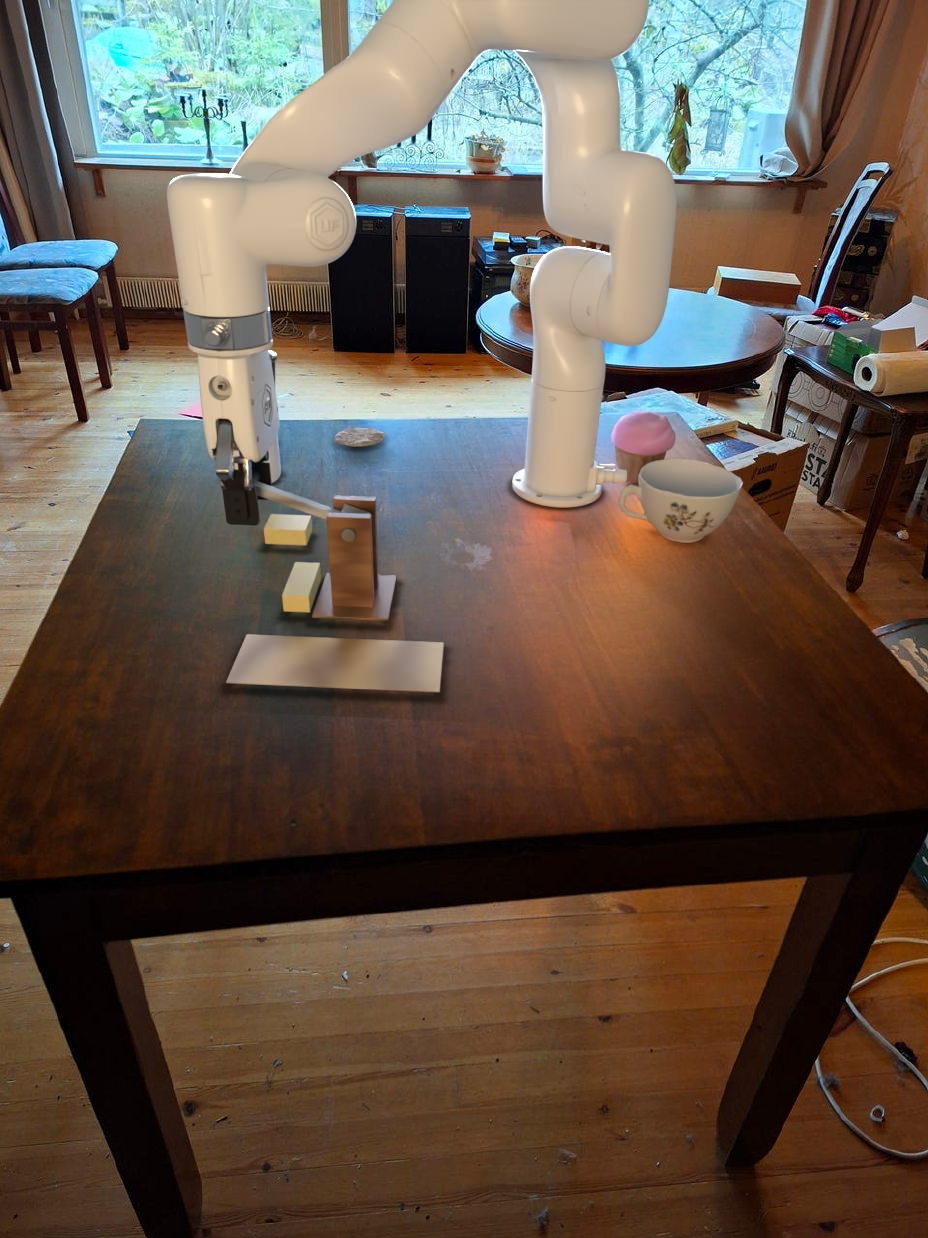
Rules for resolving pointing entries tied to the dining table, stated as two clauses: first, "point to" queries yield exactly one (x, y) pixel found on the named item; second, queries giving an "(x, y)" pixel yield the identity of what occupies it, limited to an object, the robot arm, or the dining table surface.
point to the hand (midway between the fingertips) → (250, 508)
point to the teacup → (683, 497)
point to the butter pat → (288, 529)
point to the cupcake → (641, 441)
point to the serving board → (338, 663)
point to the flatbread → (359, 437)
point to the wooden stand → (354, 566)
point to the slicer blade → (297, 500)
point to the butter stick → (301, 587)
